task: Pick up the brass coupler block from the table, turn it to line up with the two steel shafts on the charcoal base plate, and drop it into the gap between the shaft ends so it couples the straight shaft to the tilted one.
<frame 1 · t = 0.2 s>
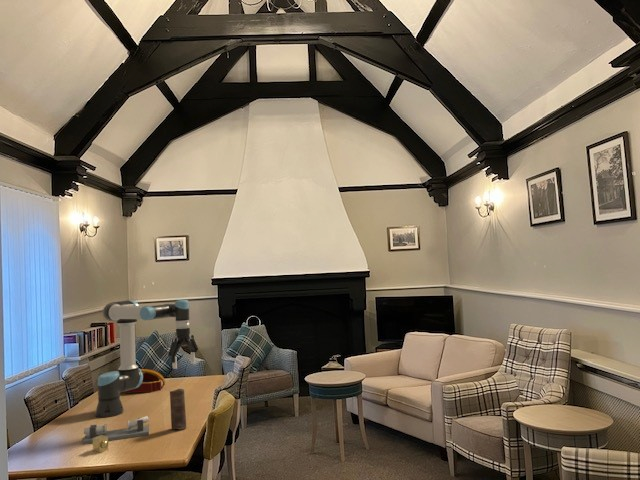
hand: (184, 366, 285), 28 cm above the table, tool pointing down, fingers open, 13 cm apart
decorative basket: (140, 390, 359), on the table
shaft mount: (117, 435, 255), on the table
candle: (178, 429, 262), on the table
coupler: (100, 450, 235), on the table
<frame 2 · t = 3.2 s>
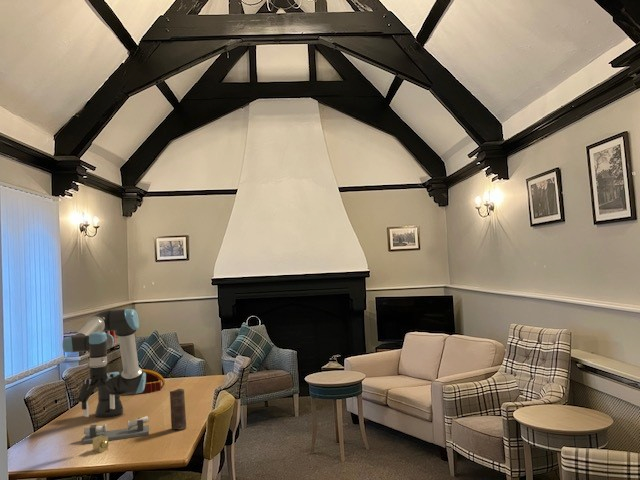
hand: (99, 412, 236), 17 cm above the table, tool pointing down, fingers open, 13 cm apart
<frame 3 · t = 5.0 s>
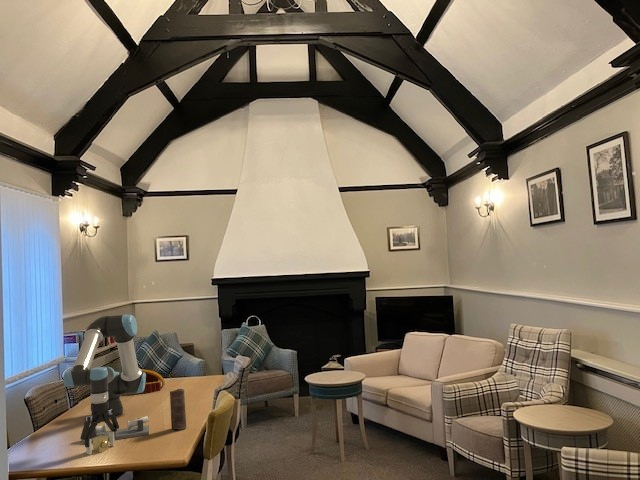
hand: (100, 449, 235), 0 cm above the table, tool pointing down, fingers open, 11 cm apart
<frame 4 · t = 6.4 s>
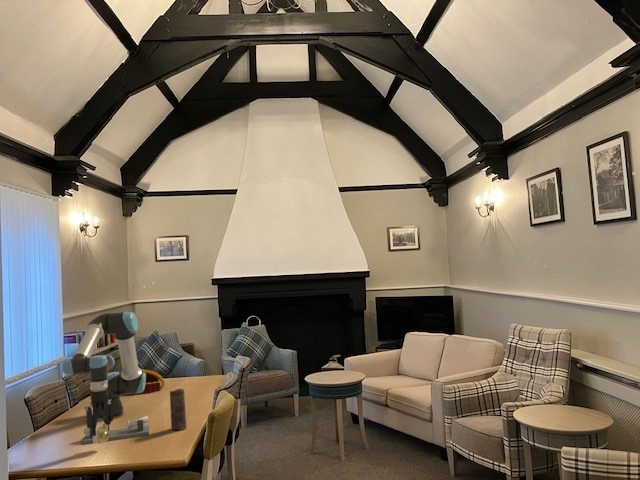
hand: (100, 440, 236), 4 cm above the table, tool pointing down, fingers closed on coupler, 4 cm apart
coupler: (100, 441, 236), point 4 cm above the table, touching gripper
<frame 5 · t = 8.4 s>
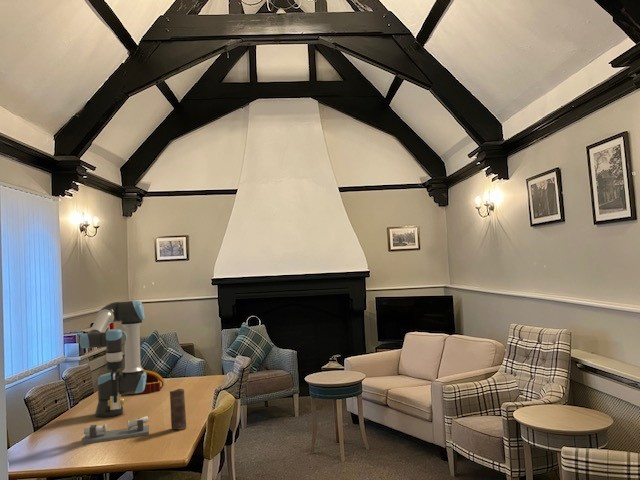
hand: (116, 407, 255), 14 cm above the table, tool pointing down, fingers closed on coupler, 4 cm apart
coupler: (115, 408, 255), point 14 cm above the table, touching gripper
when the fingers open (2 cm above the table, at t = 10.5 s): coupler stays where it is, resting on shaft mount.
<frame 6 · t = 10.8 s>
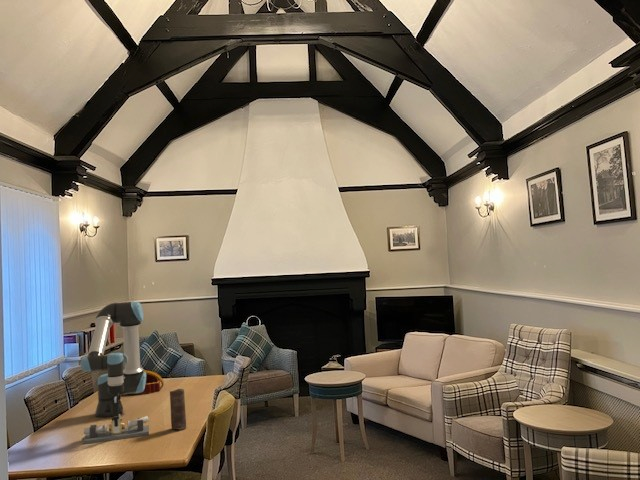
hand: (117, 430, 255), 3 cm above the table, tool pointing down, fingers open, 9 cm apart
coupler: (117, 432, 255), point 1 cm above the table, touching shaft mount
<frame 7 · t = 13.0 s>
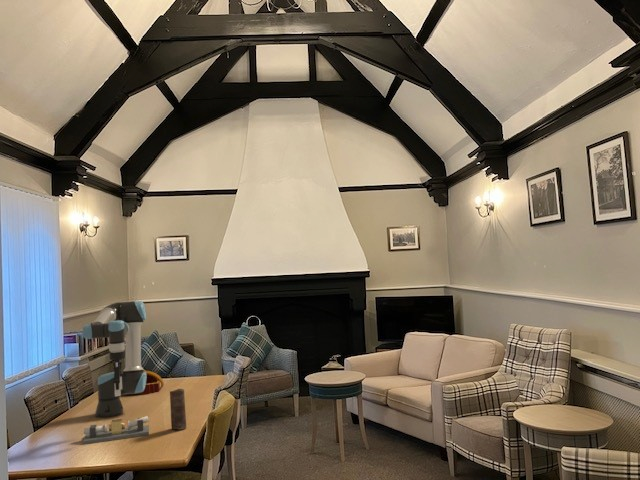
hand: (118, 392, 261), 20 cm above the table, tool pointing down, fingers open, 13 cm apart
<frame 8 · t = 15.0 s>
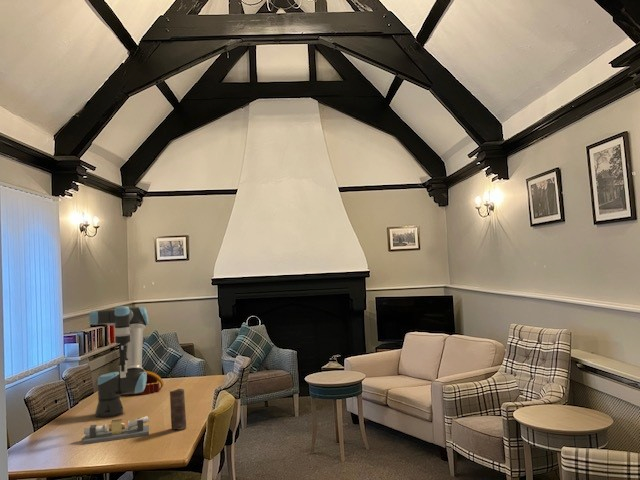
hand: (123, 375, 273), 27 cm above the table, tool pointing down, fingers open, 13 cm apart
at the end: coupler 0.1 cm off-centre on the shaft mount, point 1.5 cm above the shaft mount's base; coupler tilted 0°; the gripper is holding nothing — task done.
